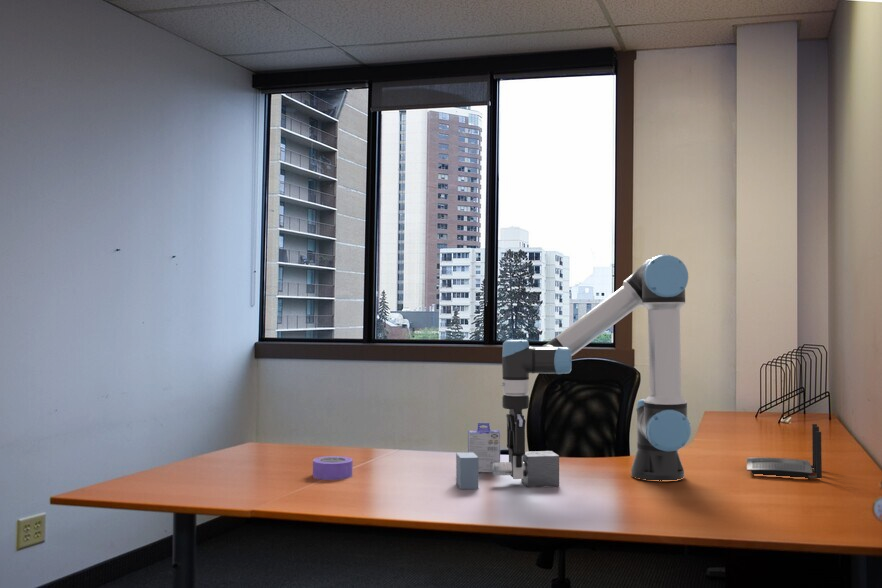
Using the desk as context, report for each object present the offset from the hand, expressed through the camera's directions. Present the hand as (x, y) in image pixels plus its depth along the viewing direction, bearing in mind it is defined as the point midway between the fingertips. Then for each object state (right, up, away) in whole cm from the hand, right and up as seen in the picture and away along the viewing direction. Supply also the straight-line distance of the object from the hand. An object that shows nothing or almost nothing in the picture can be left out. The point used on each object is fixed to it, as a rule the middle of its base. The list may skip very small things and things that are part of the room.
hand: (515, 476), depth 233 cm
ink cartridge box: (-8, -3, +19) cm, 21 cm away
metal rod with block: (+2, 0, 0) cm, 2 cm away
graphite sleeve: (+7, -2, +1) cm, 7 cm away
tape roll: (-54, -3, +12) cm, 55 cm away
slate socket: (-14, -2, -2) cm, 14 cm away
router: (+82, -3, +16) cm, 83 cm away
